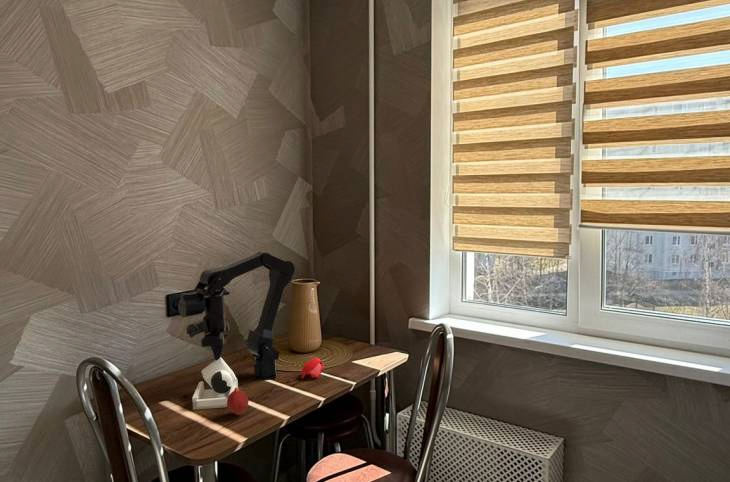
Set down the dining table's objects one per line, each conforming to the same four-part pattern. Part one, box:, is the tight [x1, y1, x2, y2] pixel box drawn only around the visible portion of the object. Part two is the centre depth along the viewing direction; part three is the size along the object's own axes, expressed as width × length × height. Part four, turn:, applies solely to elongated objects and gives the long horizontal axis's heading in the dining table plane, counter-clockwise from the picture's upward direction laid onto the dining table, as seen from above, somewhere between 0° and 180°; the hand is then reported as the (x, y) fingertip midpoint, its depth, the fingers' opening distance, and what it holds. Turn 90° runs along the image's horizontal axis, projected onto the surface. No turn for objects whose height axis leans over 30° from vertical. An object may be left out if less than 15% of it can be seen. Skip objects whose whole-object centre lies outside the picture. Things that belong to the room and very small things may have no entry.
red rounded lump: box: [226, 387, 249, 416], centre depth 159 cm, size 6×6×8 cm
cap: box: [301, 357, 324, 380], centre depth 187 cm, size 8×6×6 cm
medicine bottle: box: [201, 356, 238, 394], centre depth 173 cm, size 7×7×12 cm
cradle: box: [192, 379, 239, 411], centre depth 171 cm, size 11×13×4 cm
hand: (217, 360), depth 177 cm, fingers closed
